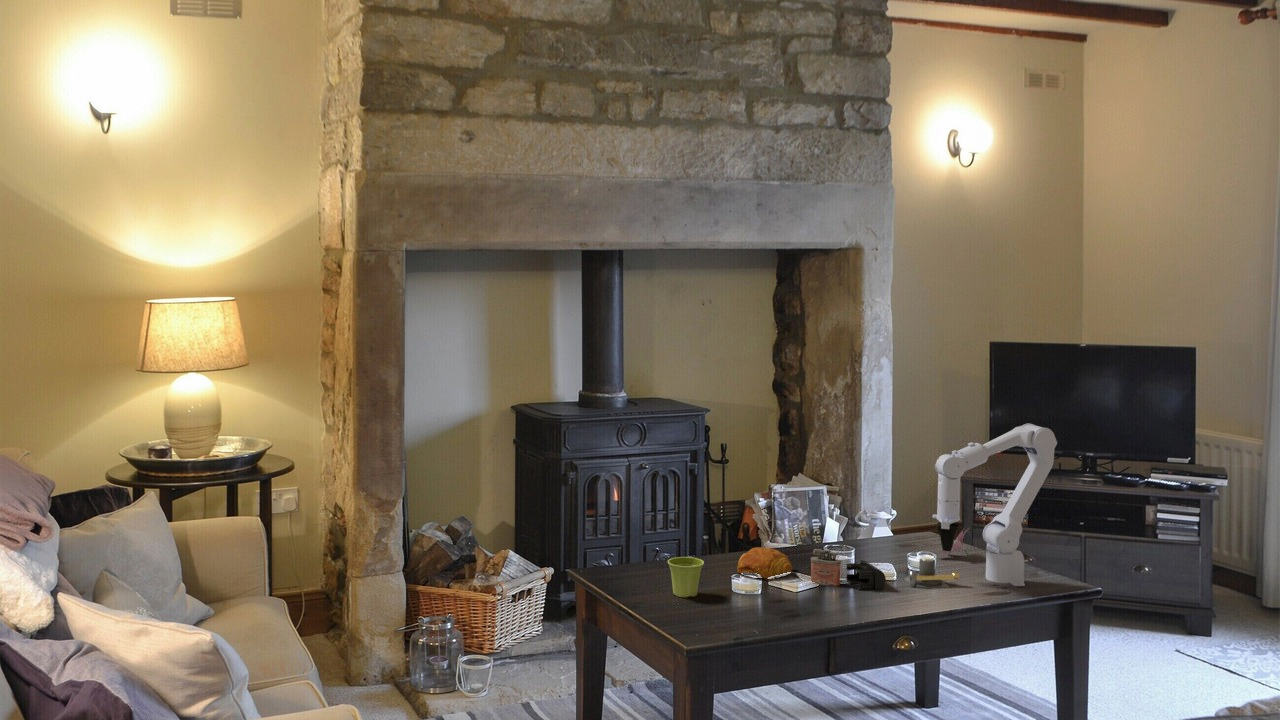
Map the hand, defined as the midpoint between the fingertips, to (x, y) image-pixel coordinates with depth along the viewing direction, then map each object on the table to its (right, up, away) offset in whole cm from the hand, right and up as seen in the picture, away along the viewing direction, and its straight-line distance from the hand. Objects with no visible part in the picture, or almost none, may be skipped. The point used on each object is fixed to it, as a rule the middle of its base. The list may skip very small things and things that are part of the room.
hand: (947, 550), depth 300 cm
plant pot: (-70, -10, -10) cm, 72 cm away
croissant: (-48, -9, +11) cm, 50 cm away
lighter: (-33, -10, -2) cm, 34 cm away
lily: (+11, -8, +29) cm, 32 cm away
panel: (-5, -10, -3) cm, 11 cm away
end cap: (-23, -10, -4) cm, 25 cm away
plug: (-6, -8, -2) cm, 10 cm away
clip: (-5, -9, -5) cm, 11 cm away
